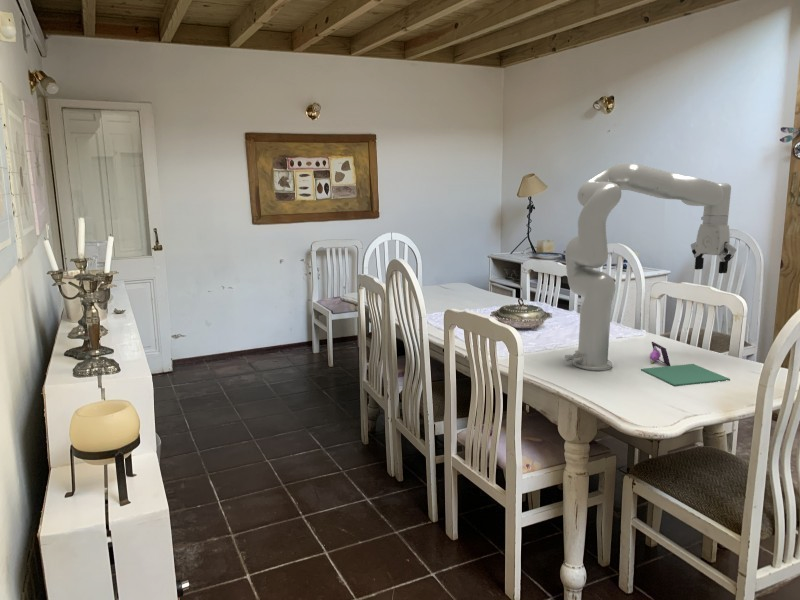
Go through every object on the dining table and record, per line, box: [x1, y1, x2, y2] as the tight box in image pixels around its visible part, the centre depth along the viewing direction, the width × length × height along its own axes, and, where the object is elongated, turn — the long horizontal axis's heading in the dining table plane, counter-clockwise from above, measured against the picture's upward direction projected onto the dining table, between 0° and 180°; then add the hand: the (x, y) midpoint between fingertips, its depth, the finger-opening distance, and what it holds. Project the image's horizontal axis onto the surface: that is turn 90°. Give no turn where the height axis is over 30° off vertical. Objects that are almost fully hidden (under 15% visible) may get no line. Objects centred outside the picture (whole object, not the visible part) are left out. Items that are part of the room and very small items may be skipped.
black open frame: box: [649, 341, 672, 366], centre depth 202 cm, size 7×5×9 cm
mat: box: [640, 363, 731, 387], centre depth 189 cm, size 20×16×1 cm
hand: (710, 271), depth 205 cm, fingers open, 9 cm apart
